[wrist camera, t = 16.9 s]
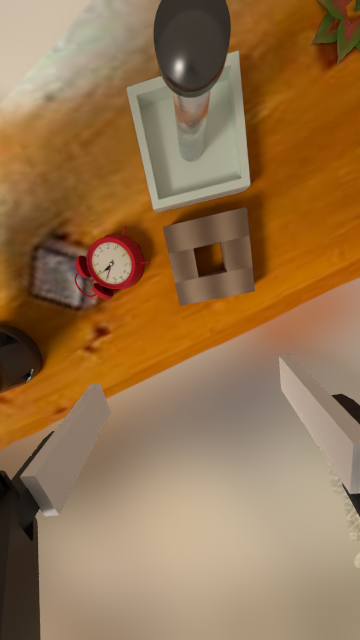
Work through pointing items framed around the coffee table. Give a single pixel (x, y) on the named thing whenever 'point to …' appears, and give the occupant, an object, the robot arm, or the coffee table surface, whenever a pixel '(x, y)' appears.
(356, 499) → the drinking cup
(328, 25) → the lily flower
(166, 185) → the sage tray
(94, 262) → the alarm clock
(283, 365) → the robot arm
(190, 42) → the steel pin
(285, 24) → the coffee table surface
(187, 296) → the brown square frame
